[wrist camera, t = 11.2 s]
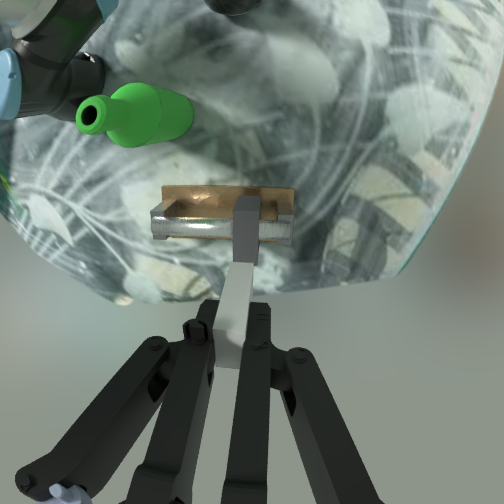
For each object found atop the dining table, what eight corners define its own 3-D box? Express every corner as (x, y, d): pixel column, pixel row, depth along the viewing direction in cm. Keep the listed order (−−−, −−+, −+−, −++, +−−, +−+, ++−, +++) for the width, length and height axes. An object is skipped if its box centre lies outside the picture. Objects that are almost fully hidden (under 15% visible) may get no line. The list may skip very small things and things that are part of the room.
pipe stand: (167, 234, 53) (149, 256, 44) (163, 185, 49) (142, 199, 40) (290, 240, 52) (293, 264, 43) (293, 188, 48) (299, 202, 39)
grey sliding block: (238, 241, 49) (233, 264, 41) (239, 195, 45) (232, 210, 37) (259, 242, 49) (257, 265, 41) (261, 196, 45) (259, 211, 37)
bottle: (189, 86, 41) (117, 58, 18) (200, 131, 44) (135, 140, 22) (144, 102, 42) (53, 97, 19) (155, 145, 45) (68, 169, 23)
